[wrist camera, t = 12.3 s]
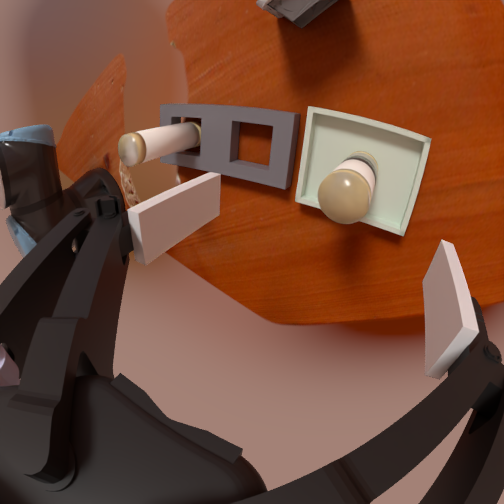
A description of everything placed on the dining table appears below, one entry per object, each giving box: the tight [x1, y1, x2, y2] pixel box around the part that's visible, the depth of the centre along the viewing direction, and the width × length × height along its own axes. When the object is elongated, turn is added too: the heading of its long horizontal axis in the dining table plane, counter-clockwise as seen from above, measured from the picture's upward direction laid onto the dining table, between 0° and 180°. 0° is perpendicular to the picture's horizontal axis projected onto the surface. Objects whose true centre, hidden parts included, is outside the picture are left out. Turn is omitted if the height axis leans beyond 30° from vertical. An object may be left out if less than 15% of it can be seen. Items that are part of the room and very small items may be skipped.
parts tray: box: [295, 106, 431, 236], centre depth 27 cm, size 13×11×2 cm
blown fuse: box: [318, 151, 378, 224], centre depth 23 cm, size 4×4×12 cm
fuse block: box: [160, 104, 300, 189], centre depth 33 cm, size 20×9×2 cm, turn 84°
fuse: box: [118, 121, 201, 167], centre depth 31 cm, size 4×4×12 cm
